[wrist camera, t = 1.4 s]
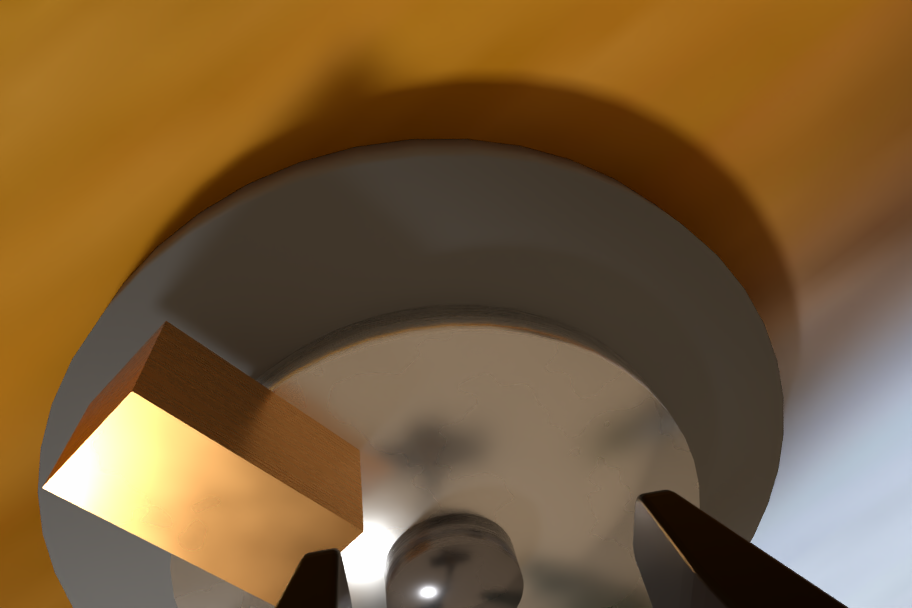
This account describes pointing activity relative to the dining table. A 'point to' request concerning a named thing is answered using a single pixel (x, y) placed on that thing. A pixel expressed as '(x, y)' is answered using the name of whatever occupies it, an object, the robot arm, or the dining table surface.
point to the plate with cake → (387, 463)
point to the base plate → (431, 284)
